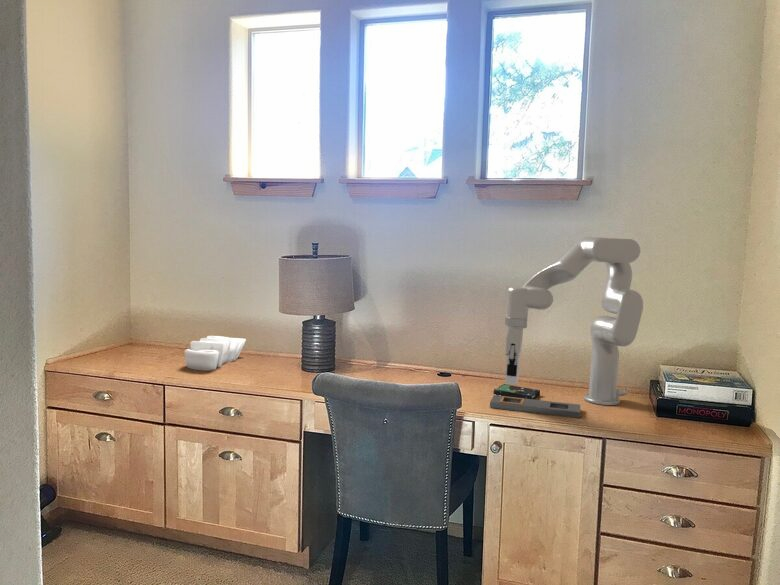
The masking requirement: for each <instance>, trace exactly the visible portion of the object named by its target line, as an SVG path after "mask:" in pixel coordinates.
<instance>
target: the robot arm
mask: <svg viewBox="0 0 780 585" xmlns="http://www.w3.org/2000/svg"><path fill="white" fill-rule="evenodd" d="M640 254H641V246H640V244H639V243H638V242H637V241H636V240H634V239H632V238H617V237H616V238H615V237H613V238H612V237H611V238H608V237H597V236H596V237H592V236H591V237H590V236H587V237H586V236H585V237H583V238H581V239H579V240H578V241H577V242H576V243H575V244H574V245H573V246H572V247H570V249H568V250H567V251H566V252H565V254H563V256H561V257H560V258H559V259H558V260H557V261H556V262H555V263H553V264H551V265H549V266H547V267H545V268H544V269H542V270H540V271H538V272H537V273H536V274H535V275H534V276H532V277H531V278H530V279H529V280H528V281H526V282H525V284H524V285H523V286H521V287H520V286H511V287H509V288H508V289H507V292H506V305H505V318H504V327H506V328H507V329H506V336H505V345H504V347H505V348H504V356H507V354H508V353H509V358H508V364H507V376H516V371H517V365H516V361H517V356H519V355H520V354H521V352H522V351H521V350H522V346H523V337H524V329H527V327H528V316H529V309H535V310H539V311H540V310H541V311H543V310H546V309H549V308H550V307H551V306H552V305H553V303H554V295H553V294H552V292H551V291H550V290H549V289H551V288H553V287H555V286H558V285H562V284H565V283H568V282H571V281H574V280H575V279H576V278H577V277H578V276H579V275H580V274H581V273H582V272H583V271H584V270H585V269H586V268H587V267H588V266H589V265H590V264H591V263H592V262H595V263H596V262H598V263H604V264H605V265H606V270H607V277H606V281H605V286H604V288H603V289H604V290H603V293H602V298H601V308H602V309H603V310H604V311H606V312H607V313H611V314H615V315H616V317H615V316H608V315H599V316H598V317H596V318H594V319H593V321H592V323H591V325H590V329H589V330H590V337H591V339H590V340H591V357H590V358H591V360H590V372H589V384H588V385H589V386H588V393H587V394H584V397H583V398H584V399H583V400H585V401H586V402H588V403H592V404H594V405H595V404H596V405H602V406H617V405H619V404H620V403H621V399H620V398H619V397H620V396H621V397H623V396H627V395H628V392H627V390H625V389H624V390H620V389H617V387H618V372H619V358H620V352H619V347H622V348H623V347H628V346H630V345H631V344H632V343H633V342H634V340H636V337H637V334H638V330H639V326H640V322H641V320H642V319H641V318H642V313H643V311H644V301H643V300H644V299H643V296H642V295H641V293H640V292H638V291H636V290H634V289H631V285H632V279H633V271H632V270H633V268H632V267H631V266H632V265H631V264H632V263H633V262H635V261H637V260H638V259H639V257H640ZM514 354H516V356H514Z"/></svg>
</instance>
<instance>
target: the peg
mask: <svg viewBox="0 0 780 585" xmlns="http://www.w3.org/2000/svg"><path fill="white" fill-rule="evenodd" d="M514 356H516V354H514ZM520 356H521V355H520V354H519V356H517V361H516V365H517V371H516V376H507V364H508V358H509V353H508V354H507V355H506V364H505V377H504V384H507V385H513V386H518V382H519V371H520V369H519V368H520Z"/></svg>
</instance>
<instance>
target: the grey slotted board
mask: <svg viewBox="0 0 780 585" xmlns="http://www.w3.org/2000/svg"><path fill="white" fill-rule="evenodd" d="M490 407H491V408H490ZM489 408H490V409H497V408H500V409H499V410H506V409H508V411H514V410H515V411H517V412H523V413H533V414H541V415H550V416H557V417H569V418H575V419H580V418H581V404H577V403H568V402H561V401H560V402H559V401H551V400H550V401H549V400H543V399H542V400H541V399H525V398H516V397H507V396H499V395H494V394H493V396H492V398H491V400H490V401H489ZM515 411H514V412H515Z"/></svg>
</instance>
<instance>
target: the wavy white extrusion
mask: <svg viewBox="0 0 780 585" xmlns="http://www.w3.org/2000/svg"><path fill="white" fill-rule="evenodd" d="M246 341H247V338H241V337H240V338H239V337H230V336H222V335H207V336H206V337H201V338H200V339H199V340H192V341H190V343H189V346H190V348H186V349H185V350H184V351H183V352H184V357H185V366H186V368H187V369H191V370H195V371H203V372H204V371H205V372H206V371H215V370H216V369H217V368H221V366H222V365H223V364H225V363H231V362H233V361H234V360H237V359H238V358H239V356H240V355H241V353H242V349H243V348H244V345H245V343H246Z"/></svg>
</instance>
